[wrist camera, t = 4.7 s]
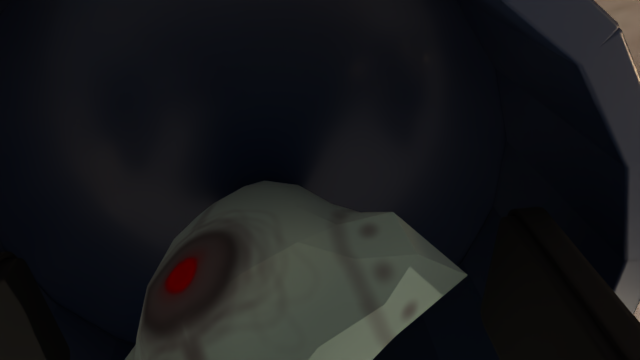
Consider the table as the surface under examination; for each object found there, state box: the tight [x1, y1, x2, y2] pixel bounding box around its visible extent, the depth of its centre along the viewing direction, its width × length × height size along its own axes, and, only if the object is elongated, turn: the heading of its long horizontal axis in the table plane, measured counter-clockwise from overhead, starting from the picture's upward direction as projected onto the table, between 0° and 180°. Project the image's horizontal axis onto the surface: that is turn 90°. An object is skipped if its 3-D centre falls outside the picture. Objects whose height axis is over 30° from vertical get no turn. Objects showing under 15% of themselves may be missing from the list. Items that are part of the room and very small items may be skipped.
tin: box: [0, 0, 640, 360], centre depth 11 cm, size 15×15×5 cm
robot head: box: [125, 180, 468, 360], centre depth 10 cm, size 8×4×7 cm, turn 123°
